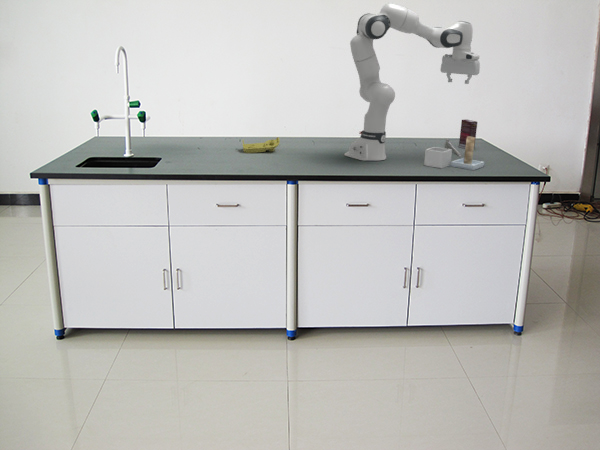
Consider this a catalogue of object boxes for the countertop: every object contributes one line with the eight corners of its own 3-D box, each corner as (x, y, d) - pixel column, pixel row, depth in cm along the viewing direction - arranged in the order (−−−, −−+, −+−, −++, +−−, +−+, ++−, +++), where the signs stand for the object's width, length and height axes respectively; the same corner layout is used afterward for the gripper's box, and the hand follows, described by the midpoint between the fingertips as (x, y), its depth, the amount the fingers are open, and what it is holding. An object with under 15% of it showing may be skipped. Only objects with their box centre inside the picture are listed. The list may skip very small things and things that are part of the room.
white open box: (424, 165, 305) (425, 149, 302) (433, 162, 312) (435, 146, 309) (441, 168, 299) (442, 152, 296) (450, 165, 306) (452, 149, 303)
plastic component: (243, 149, 319) (242, 137, 326) (244, 160, 325) (243, 148, 332) (280, 146, 321) (278, 135, 328) (280, 157, 326) (279, 145, 333)
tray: (450, 166, 304) (451, 161, 303) (461, 162, 312) (462, 158, 312) (472, 170, 296) (473, 165, 296) (483, 166, 305) (484, 161, 304)
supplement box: (474, 149, 346) (478, 121, 341) (468, 149, 344) (471, 121, 339) (464, 146, 353) (467, 119, 348) (458, 146, 351) (461, 119, 346)
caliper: (444, 149, 346) (445, 138, 344) (446, 149, 346) (447, 138, 344) (459, 156, 327) (460, 145, 325) (461, 156, 327) (462, 145, 325)
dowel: (461, 164, 304) (465, 137, 299) (465, 163, 307) (469, 136, 302) (469, 166, 301) (472, 138, 297) (472, 164, 304) (476, 137, 300)
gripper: (439, 54, 310) (437, 81, 314) (476, 56, 297) (473, 85, 302) (445, 53, 314) (443, 80, 319) (482, 56, 302) (479, 84, 306)
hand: (458, 83), depth 310 cm, fingers open, 8 cm apart
